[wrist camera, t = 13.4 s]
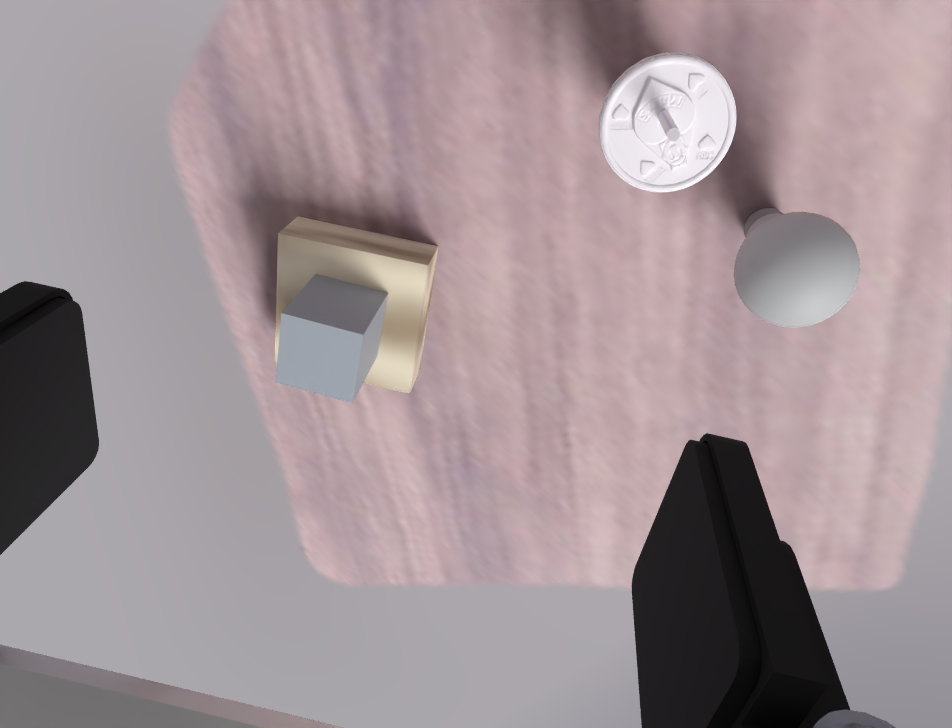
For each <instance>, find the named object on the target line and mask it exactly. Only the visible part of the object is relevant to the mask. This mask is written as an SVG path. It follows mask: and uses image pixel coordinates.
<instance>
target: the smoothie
mask: <svg viewBox="0 0 952 728" xmlns="http://www.w3.org/2000/svg"><path fill="white" fill-rule="evenodd" d="M735 128H736V105H735V101H734V97H733V94H732V91H731V89H730V87H729V85H728V84H727V82H726V80H725V78H724V77H723V76H722V75H721V74H720V72H719V71H718V70H717V69H716V68H715V67H714V66H713V65H711V64H710V63H708V62H707V61H705V60H703V59H702V58H700V57H698V56H694V55H691V54H687V53H683V52H667V53H660V54H656V55H653V56H650V57H647V58H644V59H642V60H641V61H639V62H637V63H636V64H634V65H633V66H631V67H629V68H628V69H627V70H626V71H625V72H624V73H623V74H622V75H621V76H620V77H619V78H618V79H617V80H616V81H615V82H614V84H613V85H612V87H611V89H610V90H609V92H608V94H607V95H606V97H605V99H604V102H603V106H602V109H601V112H600V116H599V138H600V142H601V147H602V151H603V153H604V155H605V157H606V159H607V161H608V163H609V165H610V166H611V167H612V169H613V170H614V171H615V172H616V174H617V175H618V176H619V177H621V178H622V179H623V180H624V181H626V182H627V183H629V184H630V185H632V186H634V187H636V188H639V189H642V190H646V191H651V192H672V191H677V190H681V189H684V188H687V187H689V186H691V185H693V184H695V183H697V182H699V181H700V180H702V179H703V178H705V177H706V176H707V175H708V174H710V173H711V172H712V171H713V170H714V169H715V168H716V167H717V166H718V164H719V163H720V162H721V161H722V159H723V158H724V156H725V155H726V153H727V151H728V149H729V147H730V145H731V142H732V140H733V136H734V133H735Z"/></svg>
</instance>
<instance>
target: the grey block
mask: <svg viewBox="0 0 952 728" xmlns="http://www.w3.org/2000/svg"><path fill="white" fill-rule="evenodd" d="M387 298H388V293H386V292H382V291H378V290H375V289H371V288H367V287H363V286H360V285H356V284H352V283H348V282H344V281H341V280H337V279H333V278H329V277H326V276H322V275H318V274H315V275H314V276H313V277H312V278H311V280H310V281H309V282H308V283H307V284H306V285H305V286H304V288H303V289H302V290H301V291H300V292H299V293H298V295H297V296H296V297H295V298H294V299H293V300H292V301H291V303H290V304H289V305H288V306H287V307H286V308H285V309H284V311H283V312H282V313H281V323H280V335H279V347H278V359H277V370H276V383H280V384H284V385H288V386H291V387H295V388H299V389H302V390H306V391H310V392H314V393H317V394H321V395H325V396H329V397H332V398H336V399H340V400H344V401H347V402H351V403H353V401H354V399H355V397H356V396H357V394H358V392H359V390H360V388H361V386H362V384H363V382H364V380H365V379H366V377H367V375H368V373H369V371H370V369H371V367H372V365H373V364H374V362H375V360H376V358H377V356H378V350H379V344H380V338H381V333H382V327H383V321H384V315H385V310H386V304H387Z"/></svg>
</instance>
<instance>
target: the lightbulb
mask: <svg viewBox="0 0 952 728" xmlns="http://www.w3.org/2000/svg"><path fill="white" fill-rule="evenodd" d="M744 234H745V237H746V239H745V240H744V242H743V244H742V245H741V247H740V249H739V251H738V254H737V257H736V260H735V268H734V281H735V286H736V289H737V292H738V294H739V297H740V299H741V300H742V302H743V303H744V305H745V306H746V307H747V308H748V309H749V310H750V311H751V312H752V313H753V314H755V315H756V316H757V317H759V318H761V319H762V320H764V321H766V322H769V323H772V324H774V325H777V326H782V327H804V326H810V325H813V324H816V323H819V322H821V321H823V320H825V319H827V318H829V317H831V316H832V315H834V314H835V313H836V312H838V311H839V310H840V309H841V308H842V307H843V306H844V305H845V304H846V303H847V302H848V300H849V299H850V297H851V296H852V294H853V293H854V290H855V288H856V286H857V283H858V278H859V272H860V259H859V255H858V252H857V248H856V245H855V243H854V241H853V240H852V238H851V236H850V235H849V234H848V233H847V232H846V231H845V230H844V229H843V228H842V227H841V226H840V225H839V224H838V223H836V222H835V221H833V220H831V219H830V218H827V217H824V216H821V215H818V214H814V213H808V212H791V213H787V214H783V213H781V212H780V211H778V210H776V209H774V208H763V209H760V210H757V211H756V212H754V213H753V214H752V215H751V216H750V217H749V218H748V219H747V221H746V223H745V226H744Z"/></svg>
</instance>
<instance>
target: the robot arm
mask: <svg viewBox="0 0 952 728" xmlns="http://www.w3.org/2000/svg"><path fill="white" fill-rule="evenodd" d="M98 447H99V438H98V430H97V423H96V415H95V408H94V400H93V393H92V385H91V377H90V370H89V363H88V355H87V347H86V339H85V331H84V324H83V318H82V311H81V308H80V306H79V304H78V303H76V302H75V301H73V299H72V297H71V295H70V294H69V292H67V291H66V290H64V289H60V288H56V287H50V286H46V285H42V284H38V283H33V282H25V281H24V282H21V283H18V284H16V285H14V286H13V287H11V288H9V289H7V290H5V291H3V292H2V293H0V555H1V554H2V553H3V552H4V551H5V550H6V549H7V548H8V547H9V546H10V544H12V543H13V542H14V540H16V539H17V538H18V537H19V536H20V535H21V534H22V533H23V532H24V531H25V530H26V529H27V528H28V527H29V526H30V525H31V524H32V523H33V522H34V521H35V520H36V519H37V518H38V517H39V516H40V515H41V514H42V513H43V512H44V511H45V510H46V509H47V508H48V507H49V506H50V505H51V504H52V503H53V502H54V501H55V500H56V499H57V498H58V497H59V496H60V495H61V494H62V493H63V492H64V491H65V490H66V489H67V488H68V487H69V486H70V485H71V484H72V483H73V482H74V481H75V480H76V479H77V478H78V477H79V476H80V475H81V474H82V473H83V472H84V471H85V470H86V469H87V468H88V467H89V466H90V464H91V463H92V462H93V461H94V458H95V457H96V454H97V451H98ZM632 600H633V613H634V625H635V626H634V627H635V640H636V653H637V667H638V681H639V694H640V708H641V720H642V721H641V722H642V728H896V727H894V726H893V725H891V724H890V723H888V722H886V721H884V720H882V719H879V718H877V717H875V716H872V715H870V714H867V713H864V712H858V711H852V710H850V708H849V705H848V702H847V699H846V696H845V694H844V691H843V688H842V685H841V682H840V680H839V677H838V674H837V671H836V668H835V666H834V663H833V660H832V657H831V654H830V652H829V649H828V646H827V643H826V640H825V638H824V635H823V632H822V630H821V626H820V624H819V621H818V618H817V615H816V613H815V610H814V607H813V604H812V601H811V598H810V596H809V593H808V590H807V587H806V584H805V582H804V579H803V576H802V573H801V570H800V568H799V565H798V562H797V559H796V556H795V554H794V552H793V550H792V548H791V546H790V545H788V544H787V543H786V542H784V541H780V539H779V536H778V533H777V530H776V527H775V524H774V521H773V518H772V515H771V513H770V510H769V507H768V504H767V501H766V498H765V495H764V492H763V489H762V486H761V483H760V480H759V477H758V474H757V471H756V468H755V465H754V462H753V460H752V457H751V454H750V451H749V448H748V446H747V444H746V443H745V442H743V441H739V440H734V439H730V438H725V437H721V436H717V435H712V434H708V433H707V434H705V435H703V437H702V438H701V439H700V441H694V440H689V441H688V443H687V444H686V446H685V448H684V450H683V453H682V455H681V457H680V460H679V462H678V465H677V467H676V469H675V472H674V474H673V477H672V479H671V482H670V484H669V486H668V489H667V491H666V494H665V496H664V498H663V501H662V503H661V506H660V508H659V511H658V513H657V515H656V518H655V520H654V523H653V525H652V527H651V530H650V532H649V535H648V537H647V539H646V542H645V544H644V547H643V549H642V552H641V554H640V556H639V559H638V561H637V564H636V566H635V569H634V574H633V579H632ZM0 728H343V727H339V726H334V725H330V724H326V723H322V722H318V721H314V720H310V719H306V718H302V717H298V716H294V715H290V714H286V713H282V712H278V711H273V710H269V709H265V708H261V707H257V706H253V705H249V704H245V703H241V702H236V701H232V700H228V699H224V698H219V697H216V696H212V695H208V694H203V693H199V692H195V691H191V690H187V689H182V688H179V687H175V686H170V685H166V684H162V683H158V682H154V681H150V680H146V679H141V678H137V677H133V676H128V675H125V674H121V673H116V672H112V671H108V670H104V669H100V668H96V667H91V666H87V665H83V664H79V663H75V662H71V661H66V660H62V659H58V658H54V657H50V656H45V655H41V654H37V653H33V652H29V651H25V650H20V649H16V648H12V647H8V646H3V645H0Z"/></svg>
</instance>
